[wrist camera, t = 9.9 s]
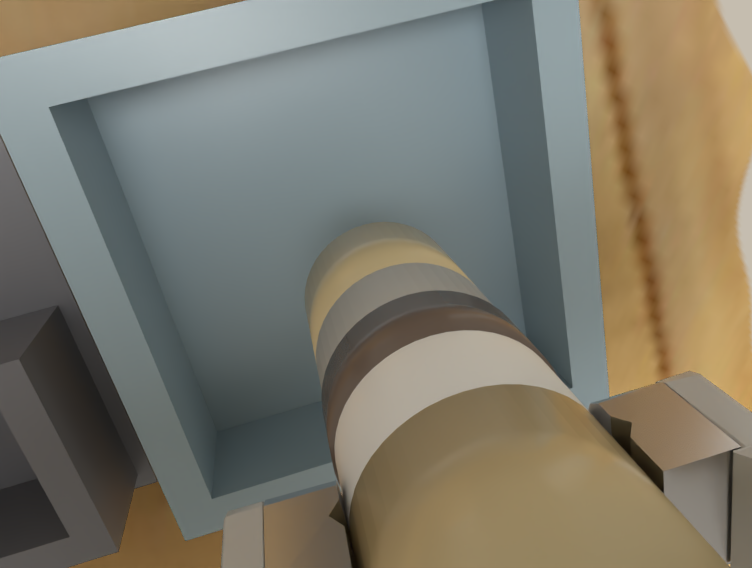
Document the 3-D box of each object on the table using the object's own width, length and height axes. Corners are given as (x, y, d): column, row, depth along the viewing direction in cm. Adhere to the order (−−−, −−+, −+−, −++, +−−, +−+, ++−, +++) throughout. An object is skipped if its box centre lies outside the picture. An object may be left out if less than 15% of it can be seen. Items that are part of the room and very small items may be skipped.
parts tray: (553, 350, 24) (610, 407, 20) (195, 458, 23) (185, 541, 19) (505, -51, 18) (572, -75, 15) (29, 59, 17) (-32, 64, 13)
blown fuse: (467, 341, 16) (775, 775, 6) (324, 382, 15) (432, 900, 6) (442, 201, 14) (795, 503, 5) (283, 243, 14) (346, 650, 5)
